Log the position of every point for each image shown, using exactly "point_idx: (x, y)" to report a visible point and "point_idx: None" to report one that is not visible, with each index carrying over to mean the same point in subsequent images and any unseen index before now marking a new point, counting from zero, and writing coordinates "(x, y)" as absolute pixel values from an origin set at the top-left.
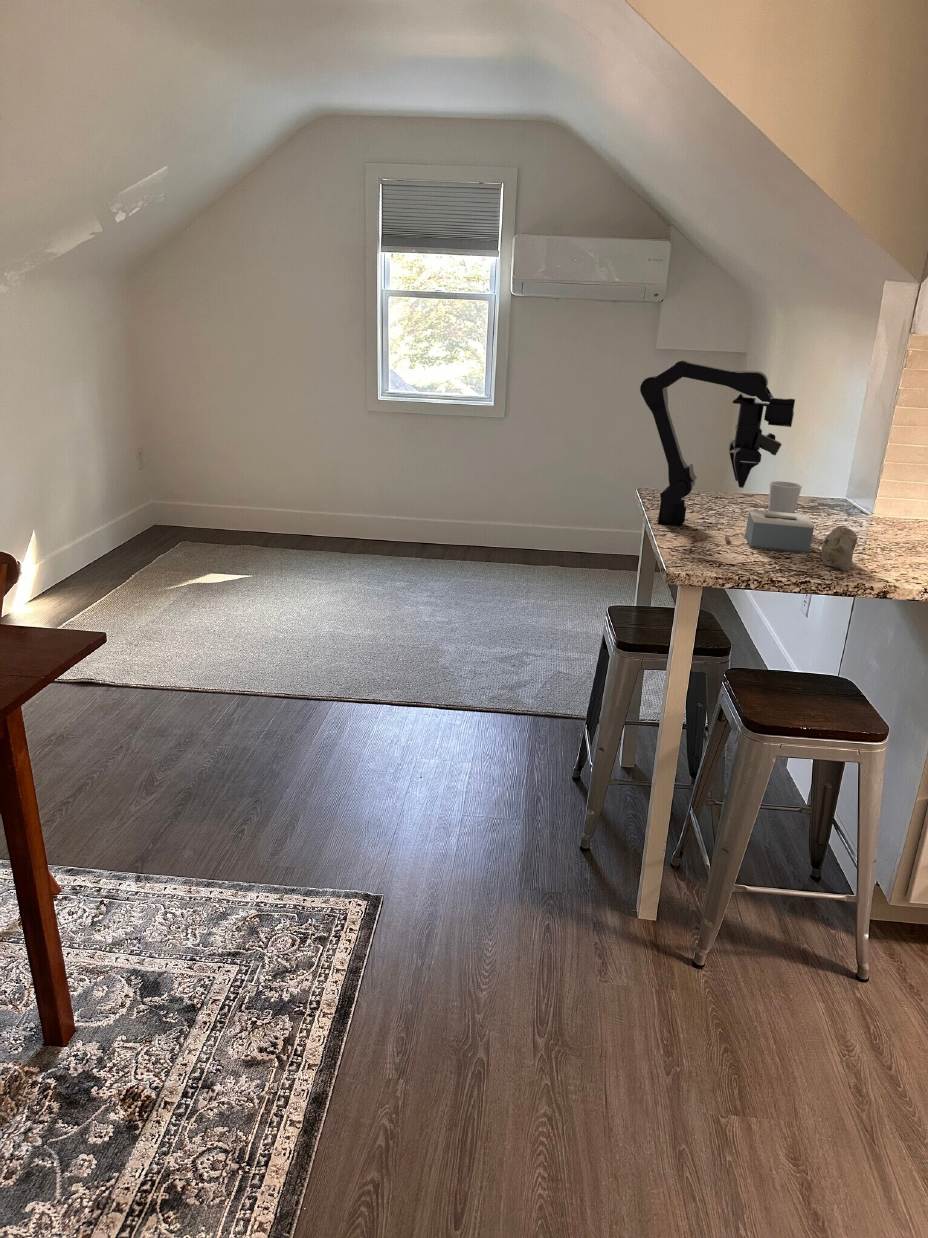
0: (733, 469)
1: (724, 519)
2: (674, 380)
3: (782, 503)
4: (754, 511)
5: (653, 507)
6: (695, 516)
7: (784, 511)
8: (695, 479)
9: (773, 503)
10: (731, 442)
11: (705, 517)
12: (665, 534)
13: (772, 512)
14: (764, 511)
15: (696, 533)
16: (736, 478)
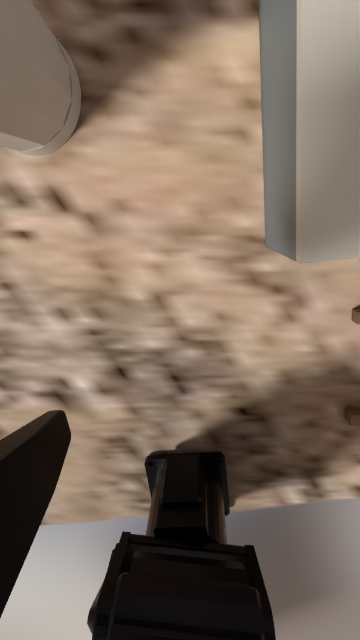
0: (23, 558)
1: (19, 327)
2: None
3: (8, 13)
4: (353, 231)
5: None
6: None
7: (34, 17)
8: (171, 631)
9: (3, 97)
10: None
11: (35, 388)
12: (357, 487)
13: (335, 100)
14: (323, 162)
15: (357, 417)
16: (62, 448)
